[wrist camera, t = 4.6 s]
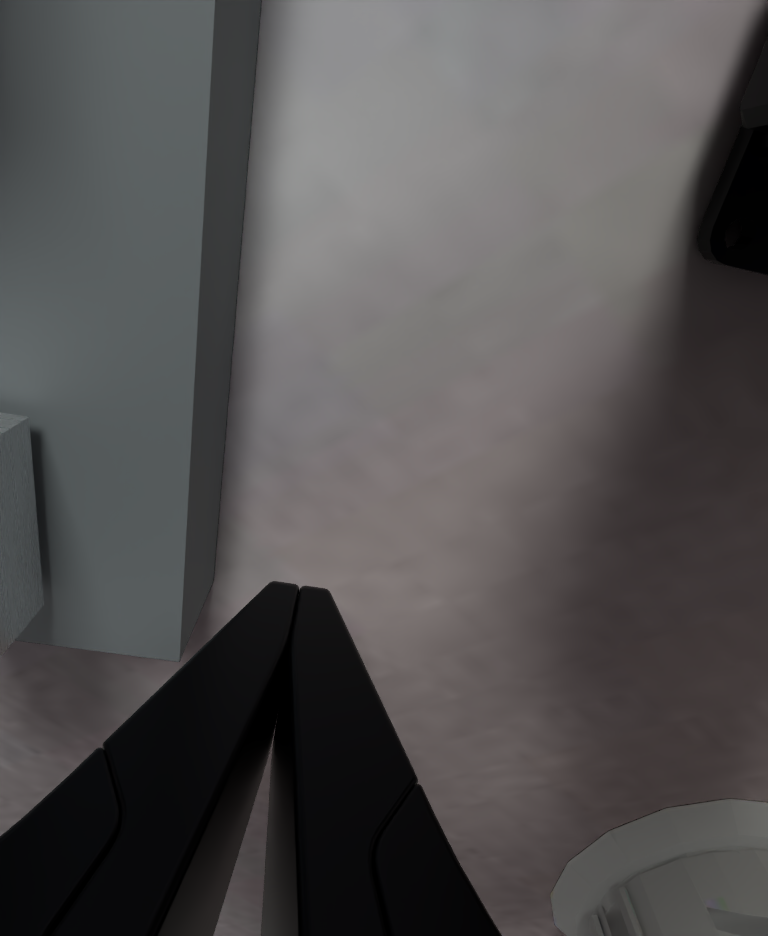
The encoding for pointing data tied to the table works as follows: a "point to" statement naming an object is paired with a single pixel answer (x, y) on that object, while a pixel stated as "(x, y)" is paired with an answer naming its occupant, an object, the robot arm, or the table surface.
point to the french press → (672, 875)
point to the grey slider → (17, 531)
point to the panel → (123, 299)
